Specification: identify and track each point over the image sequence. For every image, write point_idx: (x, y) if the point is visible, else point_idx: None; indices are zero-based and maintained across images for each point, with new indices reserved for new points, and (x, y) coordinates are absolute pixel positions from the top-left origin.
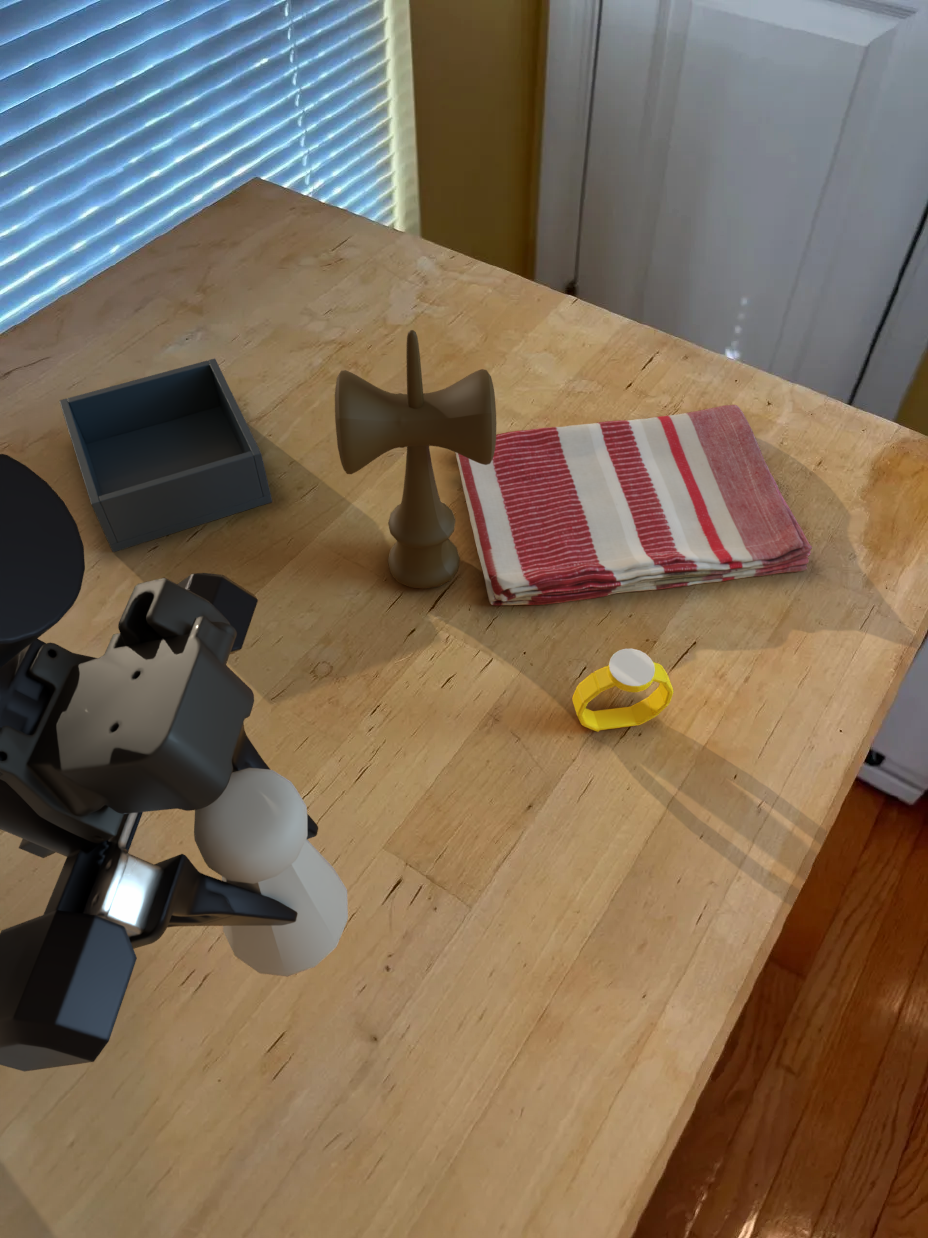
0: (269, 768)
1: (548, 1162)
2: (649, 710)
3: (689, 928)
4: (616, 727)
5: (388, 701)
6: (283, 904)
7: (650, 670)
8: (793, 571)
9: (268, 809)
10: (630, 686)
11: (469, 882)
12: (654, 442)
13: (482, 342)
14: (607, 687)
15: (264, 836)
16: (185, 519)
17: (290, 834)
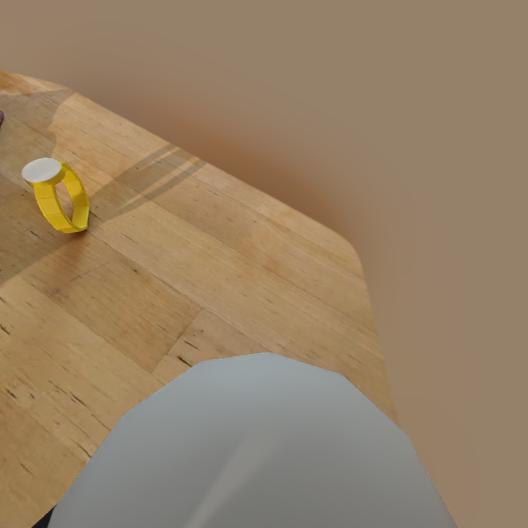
0: (43, 517)
1: (336, 268)
2: (80, 195)
3: (220, 198)
4: (87, 216)
5: (6, 381)
6: None
7: (49, 160)
8: (2, 118)
9: (262, 485)
10: (59, 172)
11: (185, 308)
12: None
13: None
14: (54, 190)
15: (377, 477)
16: None
17: (322, 378)
